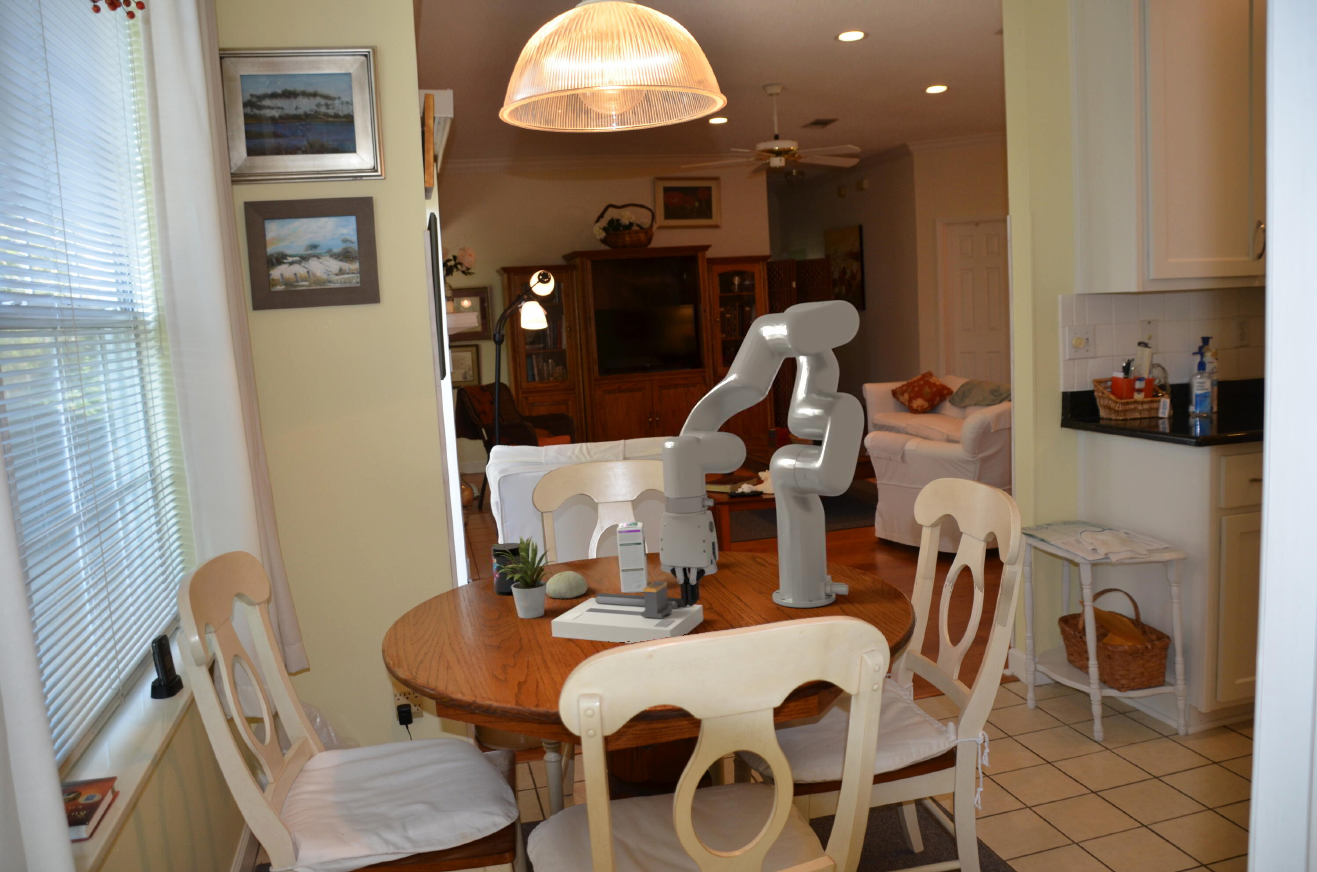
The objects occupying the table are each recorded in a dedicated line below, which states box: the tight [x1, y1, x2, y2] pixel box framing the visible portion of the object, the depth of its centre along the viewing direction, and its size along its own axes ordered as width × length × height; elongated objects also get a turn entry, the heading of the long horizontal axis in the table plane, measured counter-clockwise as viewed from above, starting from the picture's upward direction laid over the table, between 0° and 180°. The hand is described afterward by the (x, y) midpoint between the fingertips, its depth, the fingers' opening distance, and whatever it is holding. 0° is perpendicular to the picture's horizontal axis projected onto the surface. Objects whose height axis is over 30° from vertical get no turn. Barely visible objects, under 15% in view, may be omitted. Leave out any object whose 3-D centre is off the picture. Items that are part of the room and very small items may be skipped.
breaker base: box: [550, 592, 704, 644], centre depth 176 cm, size 24×16×5 cm, turn 66°
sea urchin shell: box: [546, 570, 588, 600], centre depth 203 cm, size 9×8×8 cm
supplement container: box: [491, 542, 523, 596], centre depth 207 cm, size 7×7×10 cm
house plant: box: [492, 536, 556, 619], centre depth 189 cm, size 14×14×16 cm
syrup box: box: [616, 521, 649, 594], centre depth 203 cm, size 6×6×14 cm
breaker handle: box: [641, 580, 672, 618], centre depth 173 cm, size 4×5×5 cm
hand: (690, 603), depth 170 cm, fingers closed
